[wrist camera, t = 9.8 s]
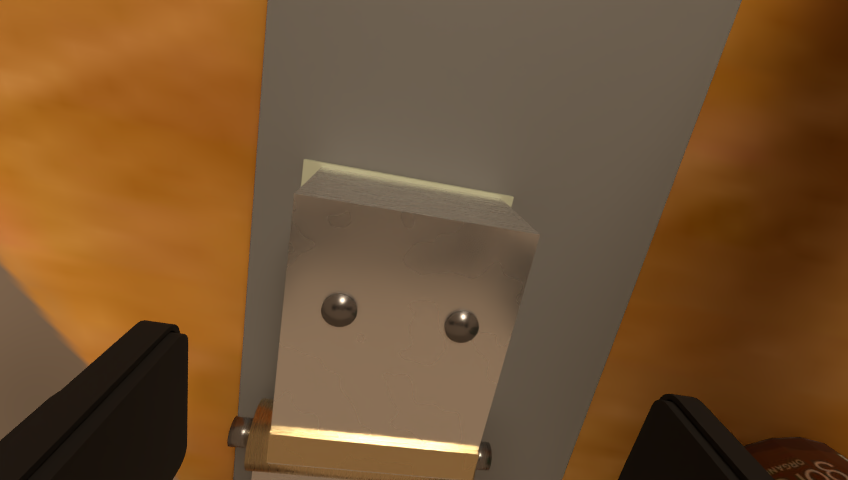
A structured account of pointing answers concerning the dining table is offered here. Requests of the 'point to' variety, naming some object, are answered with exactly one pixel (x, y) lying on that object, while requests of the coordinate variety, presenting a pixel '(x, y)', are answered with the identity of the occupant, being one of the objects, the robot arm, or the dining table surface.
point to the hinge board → (491, 164)
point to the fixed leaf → (278, 476)
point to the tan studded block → (394, 325)
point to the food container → (799, 459)
